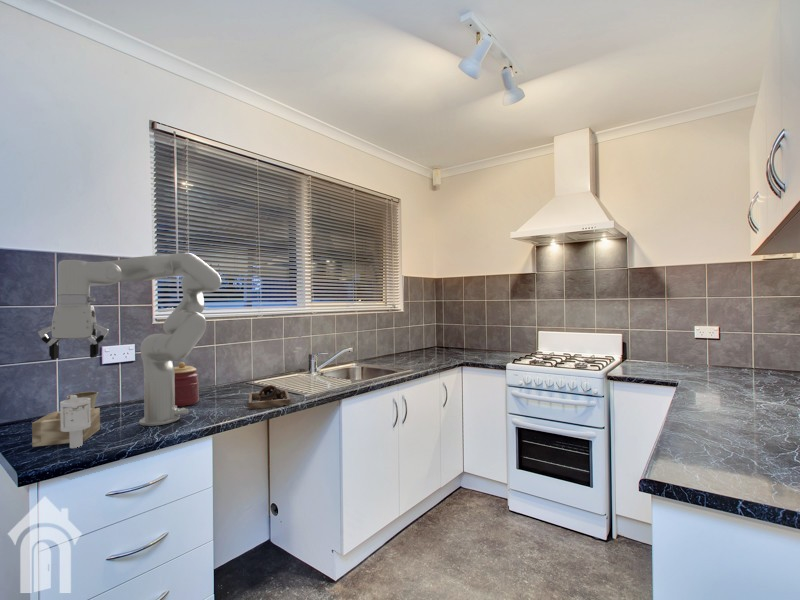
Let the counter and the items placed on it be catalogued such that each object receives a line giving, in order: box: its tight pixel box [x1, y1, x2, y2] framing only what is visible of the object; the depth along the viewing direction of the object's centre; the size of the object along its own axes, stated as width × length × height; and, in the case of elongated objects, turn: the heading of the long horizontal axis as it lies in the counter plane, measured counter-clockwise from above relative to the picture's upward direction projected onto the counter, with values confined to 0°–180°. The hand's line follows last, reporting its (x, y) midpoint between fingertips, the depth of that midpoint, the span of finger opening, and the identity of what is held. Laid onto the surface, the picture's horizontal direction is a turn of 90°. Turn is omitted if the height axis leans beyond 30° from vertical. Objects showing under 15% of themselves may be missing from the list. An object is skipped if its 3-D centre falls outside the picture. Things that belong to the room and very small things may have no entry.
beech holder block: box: [31, 407, 101, 448], centre depth 129 cm, size 13×13×7 cm
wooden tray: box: [248, 389, 291, 410], centre depth 171 cm, size 16×18×2 cm
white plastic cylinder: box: [59, 394, 91, 449], centre depth 121 cm, size 7×7×15 cm
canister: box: [174, 361, 200, 408], centre depth 171 cm, size 13×13×18 cm
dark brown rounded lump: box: [258, 384, 284, 401], centre depth 171 cm, size 12×10×8 cm
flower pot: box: [66, 391, 99, 410], centre depth 152 cm, size 9×9×9 cm
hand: (74, 358), depth 121 cm, fingers open, 9 cm apart
